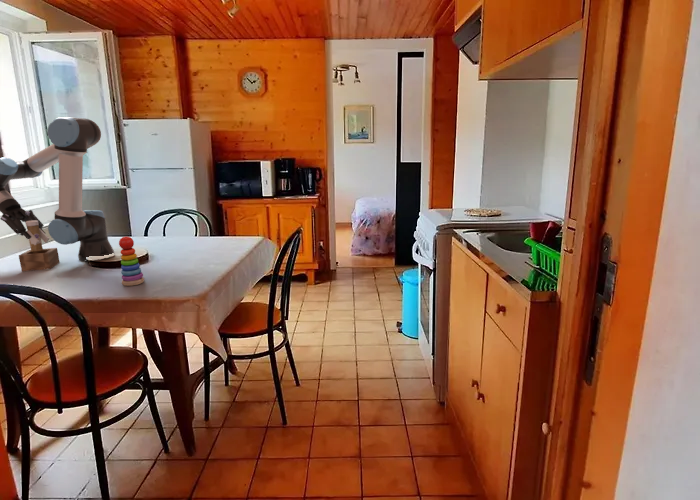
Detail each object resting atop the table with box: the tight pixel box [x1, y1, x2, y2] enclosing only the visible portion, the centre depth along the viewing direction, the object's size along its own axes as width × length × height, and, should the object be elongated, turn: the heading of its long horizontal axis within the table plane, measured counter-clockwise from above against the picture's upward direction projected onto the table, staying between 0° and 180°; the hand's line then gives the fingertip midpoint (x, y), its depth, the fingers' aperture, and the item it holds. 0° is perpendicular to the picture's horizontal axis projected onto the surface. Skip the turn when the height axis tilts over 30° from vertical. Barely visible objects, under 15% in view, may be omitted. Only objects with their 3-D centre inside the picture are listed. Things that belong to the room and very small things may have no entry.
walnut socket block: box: [18, 247, 61, 272], centre depth 196 cm, size 11×11×7 cm
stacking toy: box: [118, 236, 145, 287], centre depth 169 cm, size 8×8×19 cm
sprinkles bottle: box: [25, 220, 44, 252], centre depth 194 cm, size 5×5×14 cm
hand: (42, 241), depth 193 cm, fingers closed on sprinkles bottle, 4 cm apart
